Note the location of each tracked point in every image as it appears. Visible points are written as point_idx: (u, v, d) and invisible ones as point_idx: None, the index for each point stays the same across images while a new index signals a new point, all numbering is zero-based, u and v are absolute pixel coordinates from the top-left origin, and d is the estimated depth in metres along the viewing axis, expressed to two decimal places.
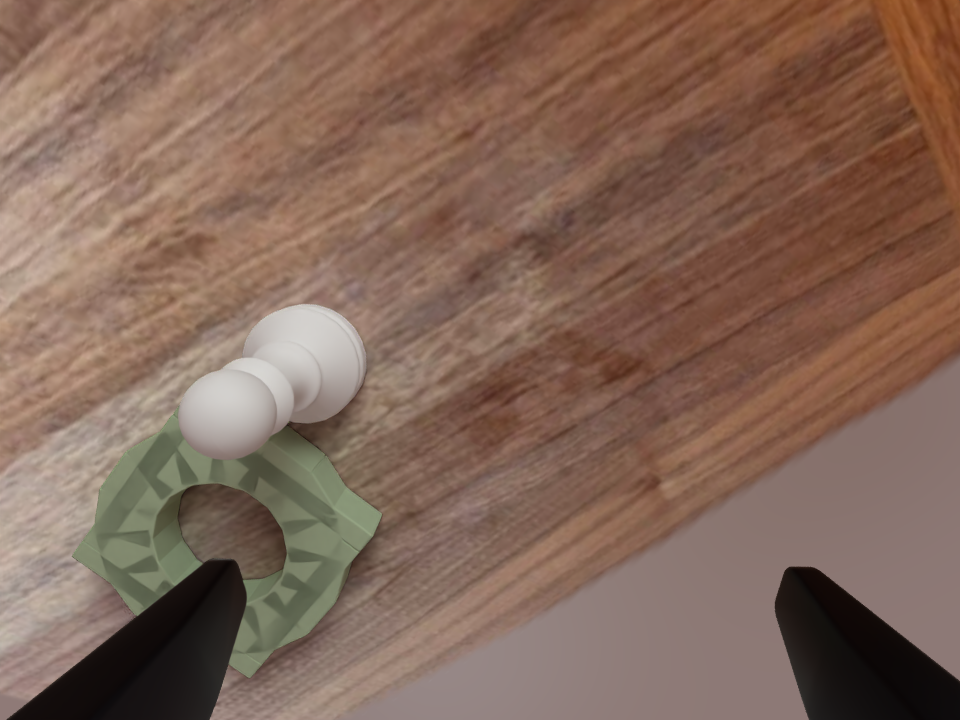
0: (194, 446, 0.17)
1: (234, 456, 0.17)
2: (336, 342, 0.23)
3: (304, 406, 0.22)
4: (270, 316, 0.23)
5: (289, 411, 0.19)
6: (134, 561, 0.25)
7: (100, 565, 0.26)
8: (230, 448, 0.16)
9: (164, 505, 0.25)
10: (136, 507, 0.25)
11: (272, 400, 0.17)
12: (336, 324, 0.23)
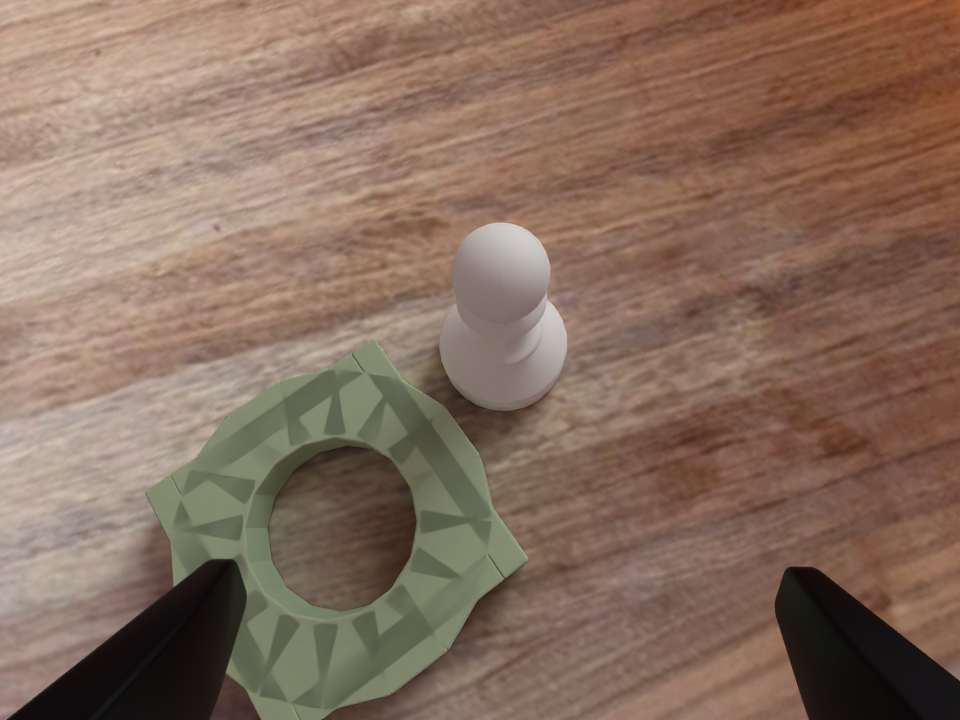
0: (472, 272, 0.15)
1: (506, 300, 0.15)
2: (554, 320, 0.21)
3: (515, 359, 0.20)
4: None
5: (538, 316, 0.17)
6: (215, 519, 0.20)
7: (172, 513, 0.20)
8: (512, 283, 0.15)
9: (289, 455, 0.20)
10: (257, 448, 0.21)
11: None
12: None
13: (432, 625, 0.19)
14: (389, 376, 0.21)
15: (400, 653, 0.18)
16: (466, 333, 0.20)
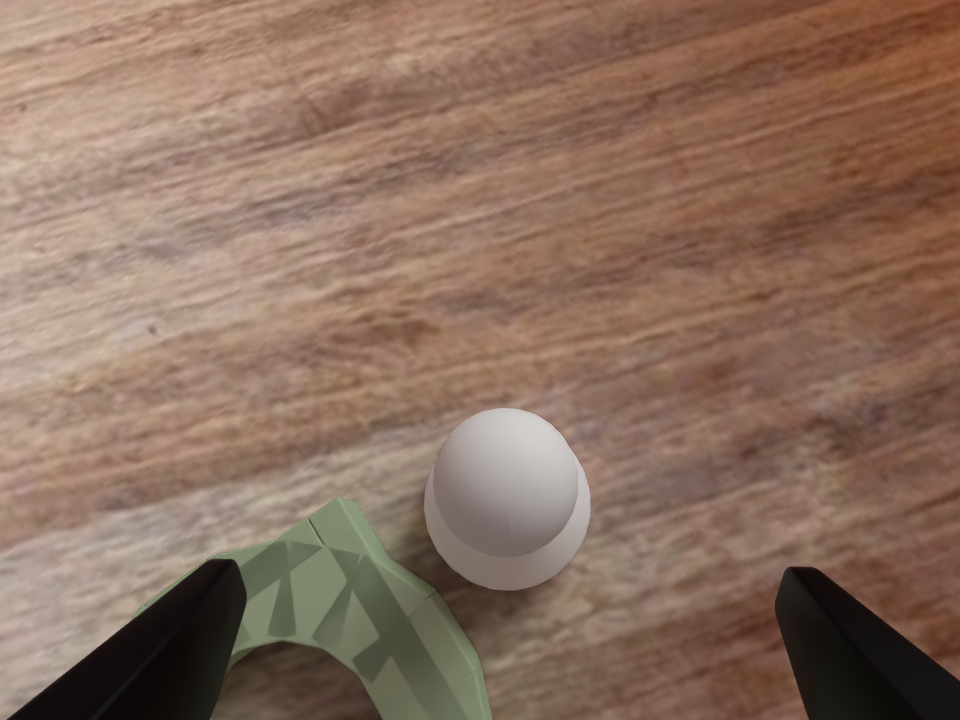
0: (462, 502, 0.10)
1: (514, 542, 0.10)
2: None
3: None
4: None
5: None
6: None
7: None
8: (523, 521, 0.10)
9: None
10: None
11: None
12: (574, 455, 0.17)
13: None
14: (357, 552, 0.16)
15: None
16: None
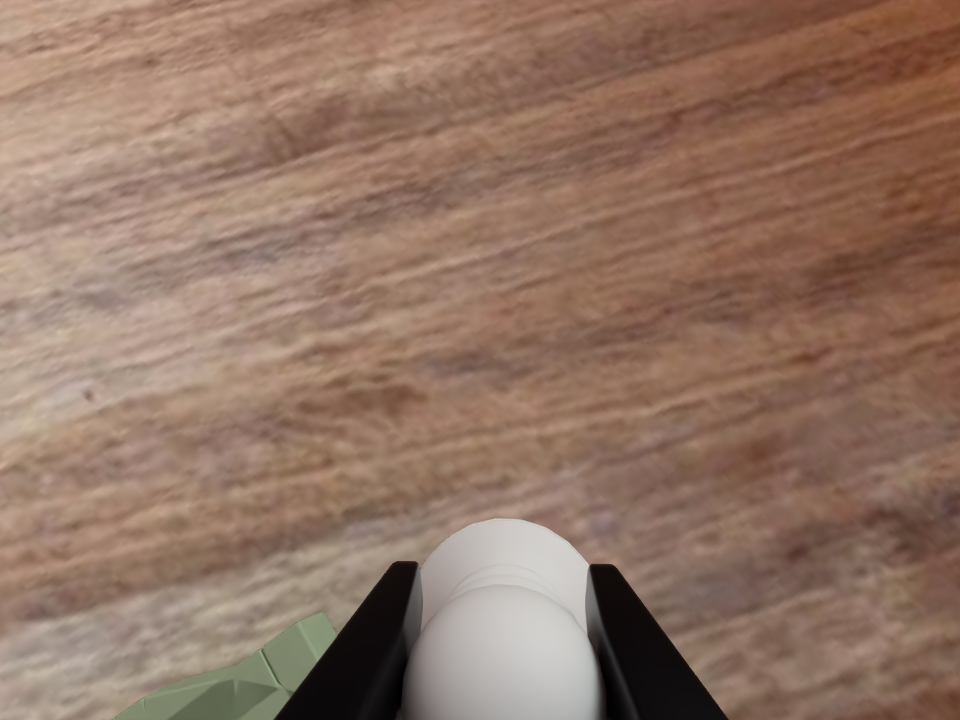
0: None
1: None
2: None
3: None
4: (488, 524, 0.14)
5: None
6: None
7: None
8: None
9: None
10: None
11: None
12: None
13: None
14: None
15: None
16: None
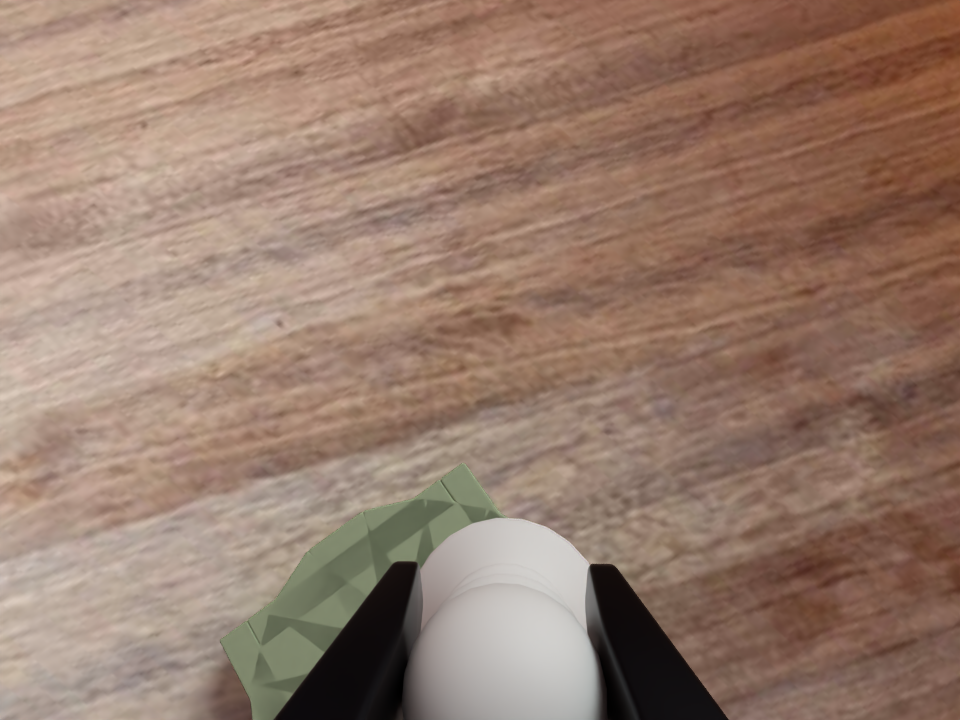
0: None
1: None
2: None
3: None
4: (488, 523, 0.14)
5: None
6: (299, 673, 0.18)
7: (251, 666, 0.18)
8: None
9: None
10: (341, 590, 0.19)
11: None
12: None
13: None
14: (483, 507, 0.19)
15: None
16: None
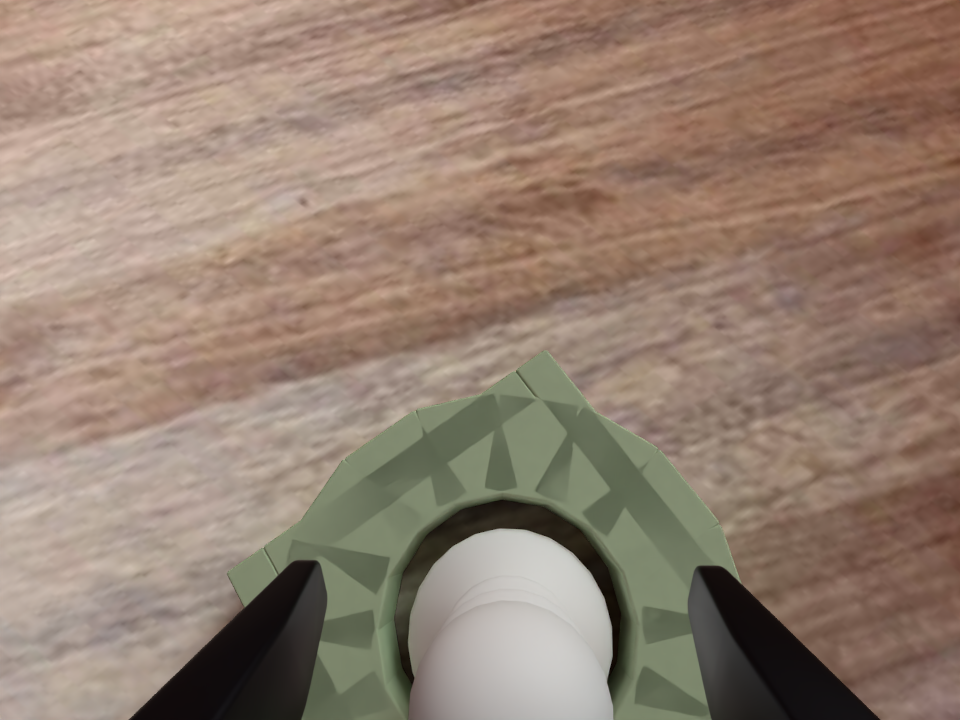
0: None
1: None
2: (592, 608, 0.13)
3: None
4: (491, 534, 0.14)
5: None
6: (333, 616, 0.14)
7: None
8: None
9: (436, 519, 0.14)
10: (389, 508, 0.14)
11: None
12: (592, 577, 0.14)
13: None
14: (574, 404, 0.15)
15: None
16: None
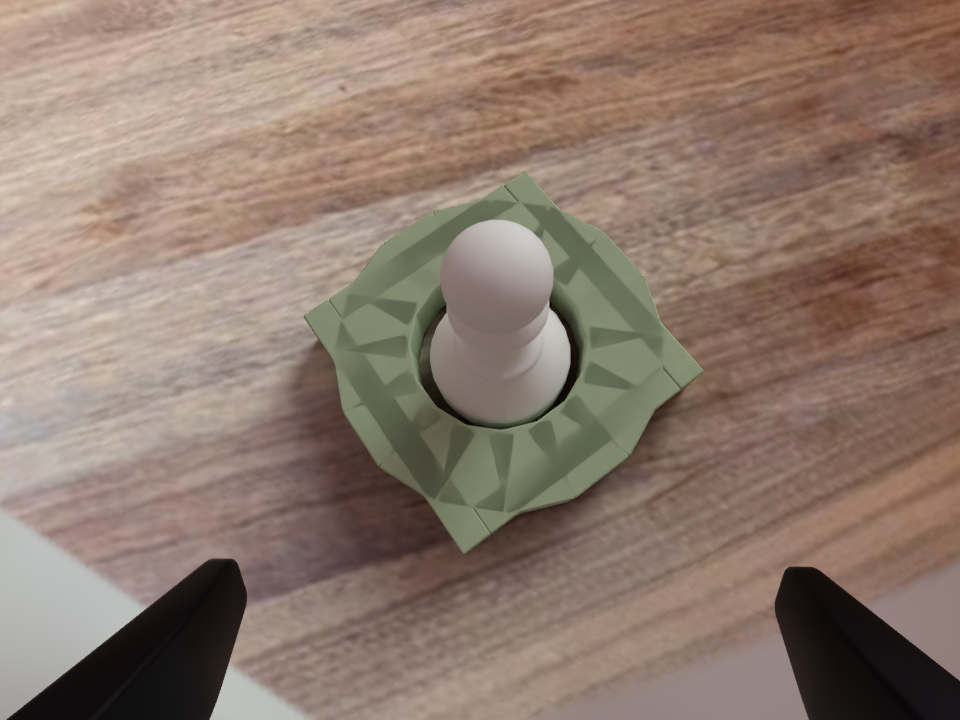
0: (463, 277, 0.13)
1: (503, 308, 0.13)
2: (556, 329, 0.19)
3: (514, 373, 0.18)
4: None
5: (540, 325, 0.15)
6: (378, 340, 0.20)
7: (334, 334, 0.20)
8: (510, 289, 0.13)
9: None
10: (415, 273, 0.20)
11: None
12: None
13: (611, 432, 0.18)
14: (545, 205, 0.21)
15: (581, 459, 0.18)
16: (459, 345, 0.18)
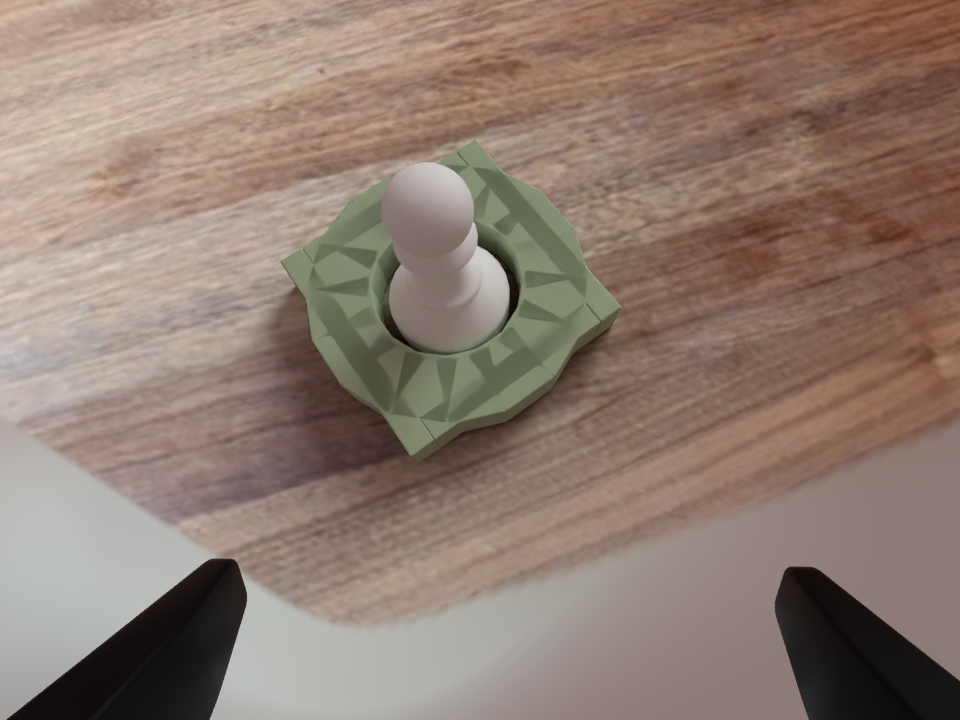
0: (396, 205, 0.16)
1: (428, 230, 0.16)
2: (497, 273, 0.23)
3: (455, 304, 0.21)
4: None
5: (468, 255, 0.18)
6: (344, 281, 0.23)
7: (306, 277, 0.23)
8: (432, 213, 0.16)
9: None
10: (377, 225, 0.23)
11: None
12: (499, 263, 0.23)
13: (540, 357, 0.21)
14: (491, 168, 0.24)
15: (513, 379, 0.21)
16: (409, 281, 0.21)
